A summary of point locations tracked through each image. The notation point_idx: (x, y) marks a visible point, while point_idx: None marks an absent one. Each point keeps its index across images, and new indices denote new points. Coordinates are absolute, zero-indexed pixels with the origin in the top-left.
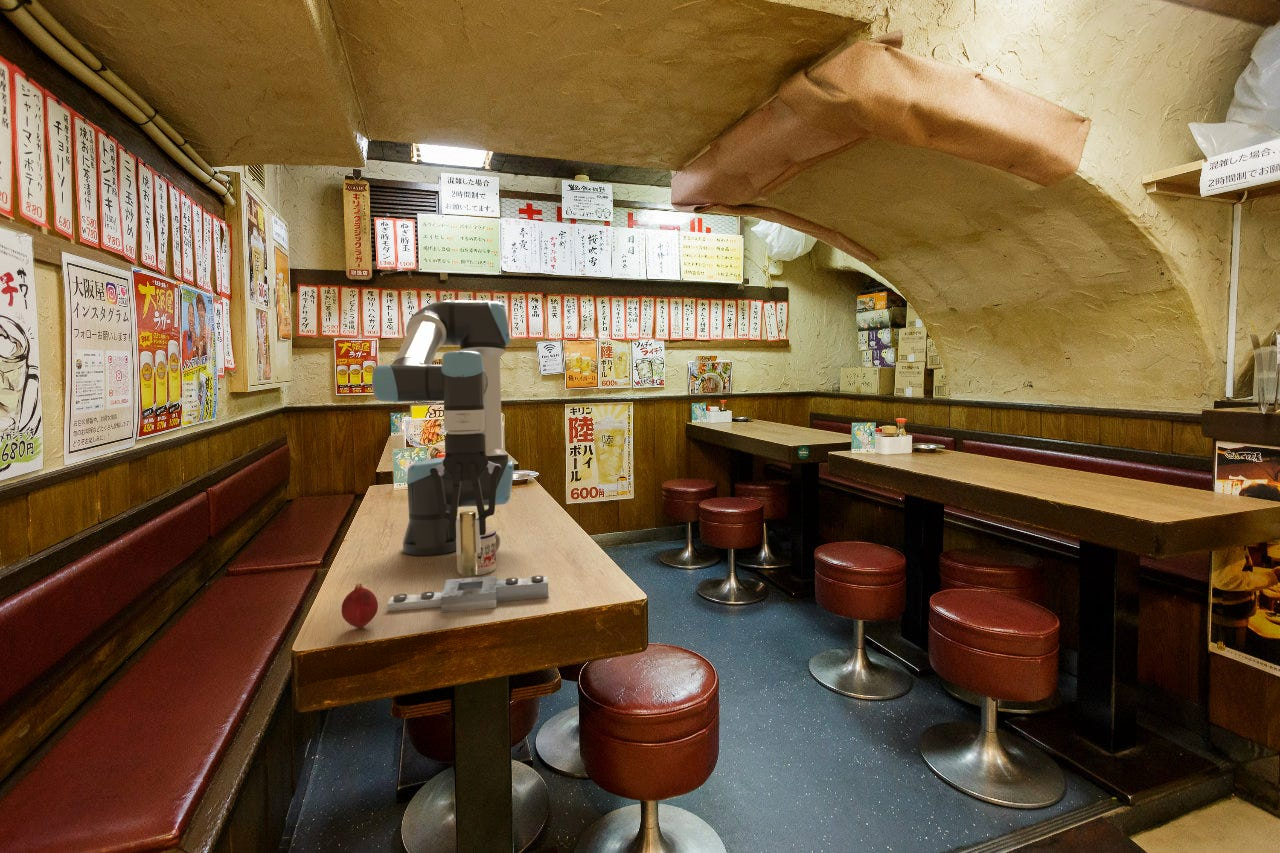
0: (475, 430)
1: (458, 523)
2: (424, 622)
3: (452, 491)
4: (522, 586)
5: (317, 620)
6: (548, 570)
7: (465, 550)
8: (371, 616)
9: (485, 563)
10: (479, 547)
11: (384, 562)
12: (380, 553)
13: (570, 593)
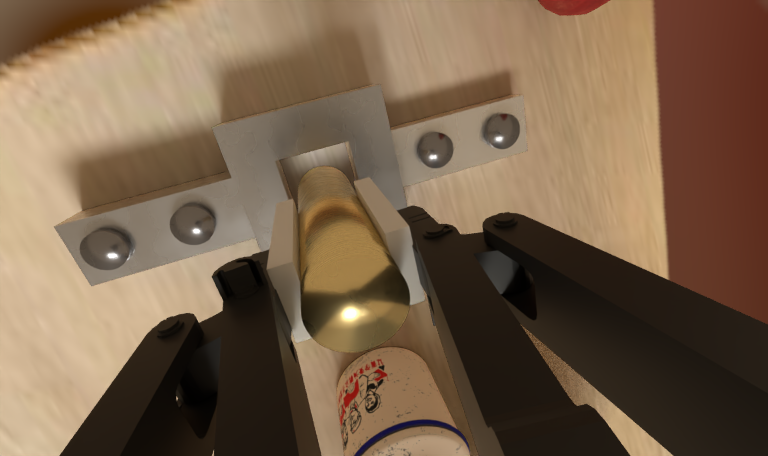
0: None
1: (390, 225)
2: (392, 9)
3: (539, 354)
4: (147, 200)
5: (651, 38)
6: None
7: (336, 189)
8: None
9: (354, 381)
10: (276, 211)
11: (599, 395)
12: None
13: (19, 249)
